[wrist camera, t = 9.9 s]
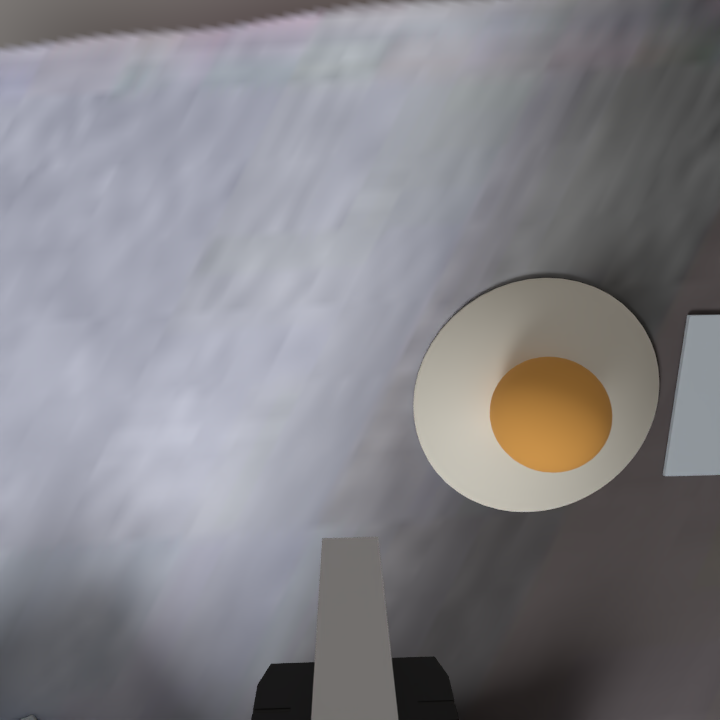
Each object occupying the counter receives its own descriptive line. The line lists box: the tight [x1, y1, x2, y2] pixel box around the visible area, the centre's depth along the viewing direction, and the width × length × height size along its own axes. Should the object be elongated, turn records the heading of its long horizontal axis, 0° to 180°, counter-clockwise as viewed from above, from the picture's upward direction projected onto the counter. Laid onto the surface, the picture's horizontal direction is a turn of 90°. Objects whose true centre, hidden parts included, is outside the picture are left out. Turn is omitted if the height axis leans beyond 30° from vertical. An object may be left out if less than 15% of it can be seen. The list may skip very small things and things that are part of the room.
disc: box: [413, 278, 659, 512], centre depth 28 cm, size 13×13×1 cm
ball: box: [490, 357, 612, 473], centre depth 25 cm, size 6×6×6 cm
